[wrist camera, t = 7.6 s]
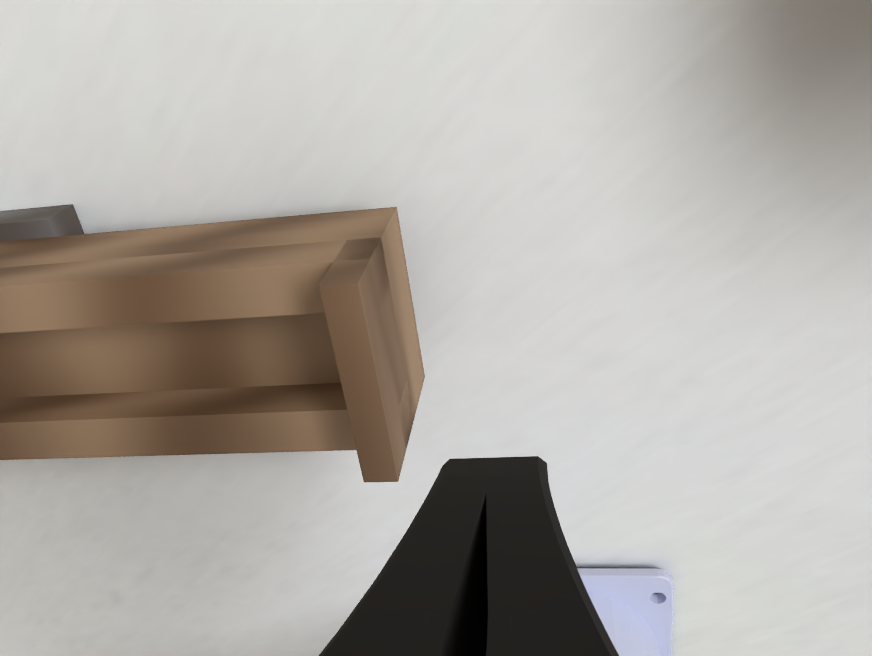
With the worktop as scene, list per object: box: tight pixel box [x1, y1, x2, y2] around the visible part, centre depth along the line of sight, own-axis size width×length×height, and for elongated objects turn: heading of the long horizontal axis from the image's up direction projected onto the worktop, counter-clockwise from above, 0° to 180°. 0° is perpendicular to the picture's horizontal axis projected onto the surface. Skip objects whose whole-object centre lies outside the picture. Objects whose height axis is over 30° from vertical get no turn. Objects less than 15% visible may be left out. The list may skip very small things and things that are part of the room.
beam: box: [0, 204, 425, 482], centre depth 20 cm, size 22×6×6 cm, turn 98°
